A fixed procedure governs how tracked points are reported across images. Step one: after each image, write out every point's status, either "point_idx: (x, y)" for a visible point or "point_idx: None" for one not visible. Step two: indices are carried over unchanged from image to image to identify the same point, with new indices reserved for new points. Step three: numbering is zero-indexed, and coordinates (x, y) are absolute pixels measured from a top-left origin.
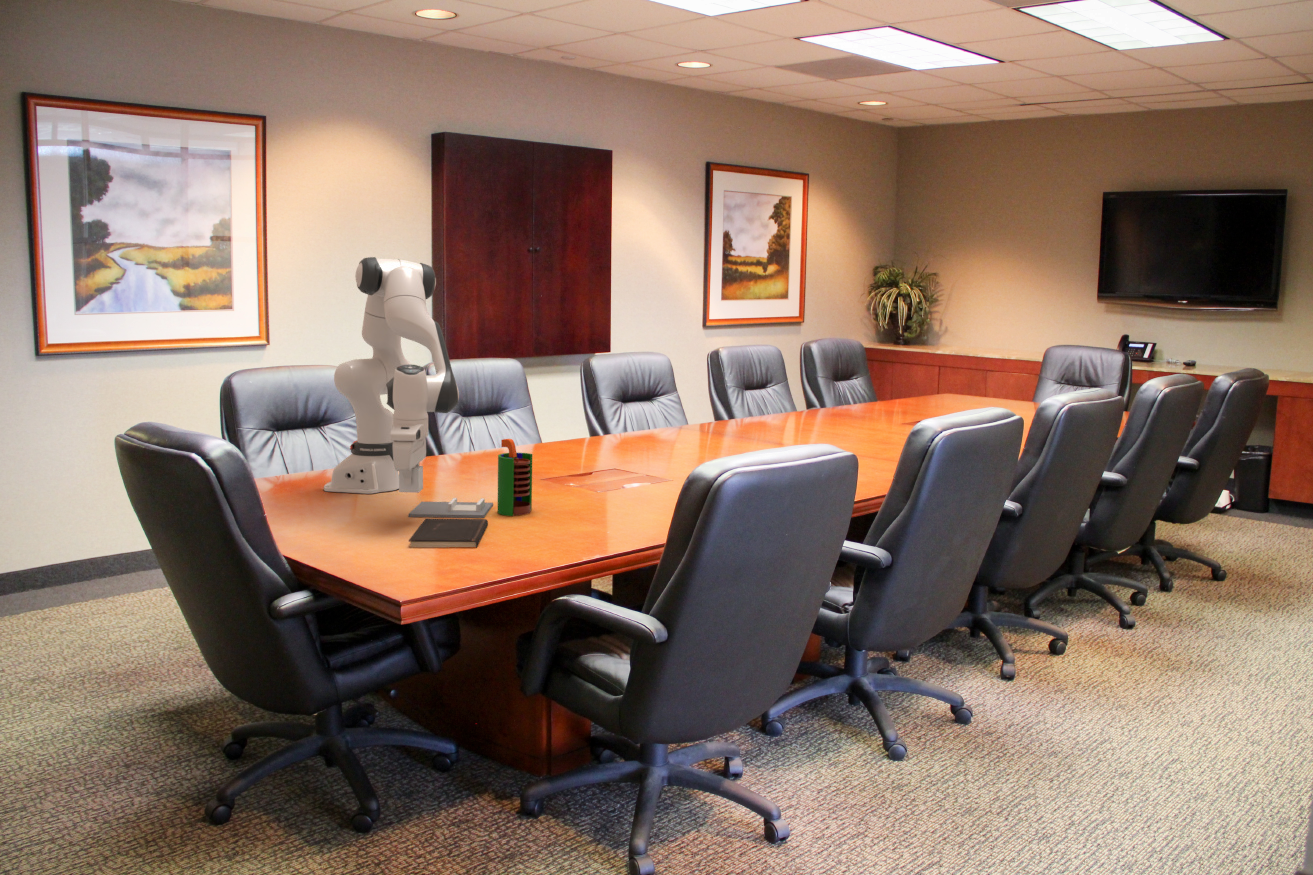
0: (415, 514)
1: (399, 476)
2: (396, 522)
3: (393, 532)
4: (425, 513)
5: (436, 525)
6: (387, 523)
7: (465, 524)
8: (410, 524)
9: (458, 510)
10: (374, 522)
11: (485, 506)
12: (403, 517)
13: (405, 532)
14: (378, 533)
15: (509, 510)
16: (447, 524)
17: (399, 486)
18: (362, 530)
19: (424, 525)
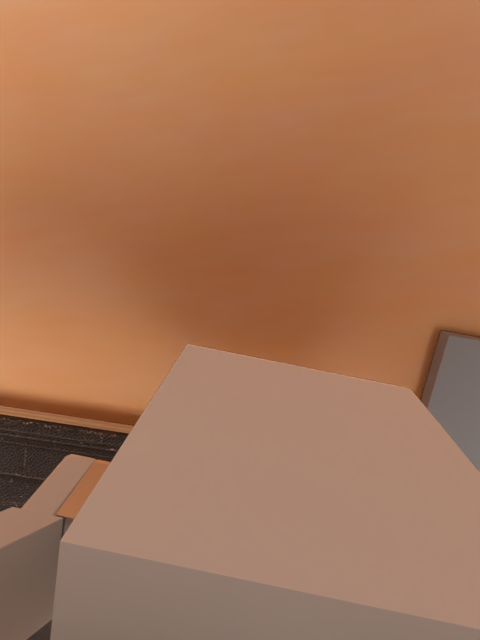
0: (435, 377)
1: (131, 441)
2: (297, 263)
3: (34, 259)
4: None
5: (18, 505)
6: (276, 207)
7: (42, 638)
8: (231, 348)
9: None
10: (317, 115)
11: None
12: (435, 299)
13: (33, 327)
14: (9, 170)
15: None
16: None
17: (172, 370)
18: (90, 54)
19: (15, 444)
